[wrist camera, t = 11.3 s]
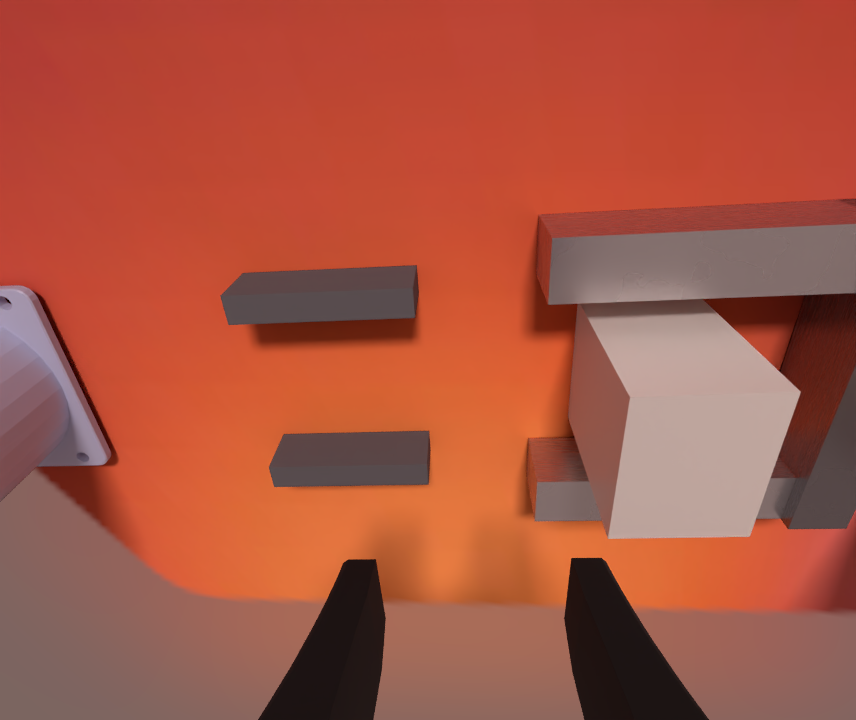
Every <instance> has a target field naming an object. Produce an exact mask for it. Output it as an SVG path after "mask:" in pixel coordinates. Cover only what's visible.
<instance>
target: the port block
mask: <svg viewBox="0 0 856 720" xmlns="http://www.w3.org/2000/svg"><path fill="white" fill-rule="evenodd" d="M536 275H537V278H538V281H539V283H540V286H541V288H542V291H543V293H544V296H545V298H546V301H547V303H548V305H556V304H582V303H608V302H634V301H660V300H686V299H712V298H738V297H764V296H790V295H805V298H804V301H803V304H802V307H801V310H800V313H799V316H798V319H797V322H796V325H795V328H794V331H793V334H792V337H791V340H790V343H789V346H788V349H787V352H786V355H785V358H784V361H783V364H782V367H781V371H780V373H781V374H782V375H784V376H785V377H786V378H787V379H788V380H789V381H790V382H791V383H792V384H793V385H794V386H795V387H796V388H797V389H798V390H799V391H800V392H801V393H800V396H799V399H798V402H797V404H796V407H795V410H794V413H793V416H792V419H791V421H790V424H789V427H788V430H787V433H786V436H785V438H784V441H783V444H782V447H781V450H780V452H779V455H778V458H777V461H776V464H775V467H774V469H773V472H772V475H771V478H770V481H769V484H768V486H767V489H766V492H765V495H764V498H763V501H762V503H761V506H760V509H759V512H758V515H757V517H756V519H779V518H781V520H782V521H783V523H784V524H785V525H786V527H787V528H788V529H846V528H847V526H848V524H849V522H850V520H851V518H852V516H853V514H854V512H855V510H856V199H843V200H823V201H803V202H783V203H763V204H743V205H723V206H703V207H682V208H662V209H642V210H622V211H602V212H582V213H562V214H542V215H539V223H538V245H537V266H536ZM527 481H528V486H529V492H530V497H531V503H532V508H533V514H534V519H535V521H602V519H601V516H600V513H599V510H598V507H597V504H596V501H595V498H594V495H593V492H592V489H591V486H590V483H589V480H588V476H587V473H586V470H585V467H584V464H583V461H582V458H581V455H580V452H579V449H578V446H577V443H576V440H575V437H573V438H528V457H527Z"/></svg>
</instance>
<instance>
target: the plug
mask: <svg viewBox="0 0 856 720" xmlns="http://www.w3.org/2000/svg"><path fill="white" fill-rule="evenodd" d="M800 393H801V392H800V391H799V390H798V389H797V388H796V387H795V386H794V385H793V384H792V383H791V382H790V381H789V380H788V379H787V378H786V377H785V376H784V375H782V374H781V373H780V372H779V371H778V370H777V369H776V368H775V367H774V366H773V365H772V364H771V363H770V362H769V361H768V360H767V359H765V358H764V357H763V356H762V355H761V354H760V353H759V352H758V351H757V350H756V349H755V348H754V347H753V346H752V345H751V344H750V343H748V342H747V341H746V340H745V339H744V338H743V337H742V336H741V335H740V334H739V333H738V332H737V331H736V330H735V329H734V328H733V327H732V326H730V325H729V324H728V323H727V322H726V321H725V320H724V319H723V318H722V317H721V316H720V315H719V314H718V313H717V312H716V311H715V310H713V309H712V308H711V307H710V306H709V305H708V304H707V303H706V302H705V301H704V300H703V299H686V300H660V301H634V302H608V303H582V304H578V306H577V317H576V329H575V340H574V352H573V364H572V375H571V387H570V399H569V410H568V419H569V422H570V425H571V428H572V431H573V434H574V437H575V440H576V443H577V446H578V449H579V452H580V455H581V458H582V461H583V464H584V467H585V470H586V473H587V476H588V480H589V483H590V486H591V489H592V492H593V495H594V498H595V501H596V504H597V507H598V510H599V513H600V516H601V519H602V522H603V525H604V528H605V531H606V534H607V537H608V539H623V538H692V537H750V534H751V532H752V529H753V526H754V523H755V520H756V517H757V515H758V512H759V509H760V506H761V503H762V501H763V498H764V495H765V492H766V489H767V486H768V484H769V481H770V478H771V475H772V472H773V469H774V467H775V464H776V461H777V458H778V455H779V452H780V450H781V447H782V444H783V441H784V438H785V436H786V433H787V430H788V427H789V424H790V421H791V419H792V416H793V413H794V410H795V407H796V404H797V402H798V399H799V396H800Z"/></svg>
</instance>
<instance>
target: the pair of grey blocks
mask: <svg viewBox="0 0 856 720" xmlns="http://www.w3.org/2000/svg"><path fill="white" fill-rule="evenodd" d="M418 294H419V291H418V277H417V265H415V266H392V267H370V268H347V269H324V270H302V271H279V272H256V273H243V274H242V275H241V276H240V277H239V278H238V279H237V280H236V281H235V282H234V283H233V284H232V285H231V286H230V287H229V288H228V289H227V290H226V291H225V292H224V293H223V294H222V295H221V300H222V303H223V307H224V310H225V314H226V317H227V321H228V325H239V324H266V323H293V322H319V321H346V320H373V319H400V318H415V315H416V308H417V301H418ZM429 466H430V438H429V431H403V432H359V433H316V434H284V435H283V437H282V439H281V441H280V444H279V446H278V448H277V450H276V453H275V455H274V457H273V459H272V461H271V464H270V466H269V470H270V473H271V477H272V480H273V484H274V487H299V486H361V485H423V484H429Z"/></svg>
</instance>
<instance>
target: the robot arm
mask: <svg viewBox="0 0 856 720" xmlns="http://www.w3.org/2000/svg"><path fill="white" fill-rule="evenodd" d="M5 298H7V299H8V300H9V301H10V302H11V304H10V303H8V302H7V301H6V299H5ZM86 454H87V455H86ZM110 457H111V451H110V449H109V447H108V445H107V443H106V441H105V438H104V436H103V434H102V432H101V430H100V428H99V426H98V424H97V422H96V419H95V417H94V415H93V413H92V411H91V409H90V407H89V405H88V403H87V400H86V398H85V396H84V394H83V392H82V390H81V388H80V386H79V384H78V382H77V379H76V377H75V375H74V373H73V371H72V369H71V367H70V365H69V363H68V360H67V358H66V356H65V354H64V352H63V350H62V348H61V346H60V344H59V341H58V339H57V337H56V335H55V333H54V331H53V329H52V327H51V325H50V323H49V320H48V318H47V316H46V314H45V312H44V310H43V308H42V306H41V304H40V301H39V299H38V297H37V296H36V295H35V293H34V292H33V291H31V290H30V289H29V288H26V287H24V286H19V285H17V286H0V502H1V501H2V500H3V499H4V498H5V497H6V496H7V495H8V494H9V493H10V492H11V491H12V490H13V489H14V488H15V487H16V486H17V485H18V484H19V483H20V482H21V481H22V480H23V479H24V478H25V477H26V476H27V475H28V474H29V473H30V472H31V471H32V470H33V469H34V468H35V467H42V466H93V465H104V464H105V463H106V462H107V461H108V460H109V459H110ZM385 619H386V618H385V612H384V607H383V600H382V594H381V588H380V582H379V576H378V570H377V564H376V559H371V560H347V561H346V562H344V563H343V565H342V568H341V570H340V573H339V575H338V577H337V579H336V582H335V584H334V586H333V588H332V590H331V592H330V594H329V597H328V599H327V601H326V603H325V605H324V607H323V609H322V611H321V613H320V614H319V617H318V619H317V620H316V622H315V624H314V626H313V628H312V630H311V632H310V633H309V635H308V637H307V639H306V641H305V642H304V644H303V646H302V648H301V650H300V651H299V653H298V655H297V657H296V659H295V660H294V662H293V664H292V666H291V667H290V669H289V671H288V673H287V674H286V676H285V677H284V679H283V680H282V682H281V684H280V685H279V687H278V689H277V690H276V692H275V694H274V695H273V697H272V699H271V700H270V702H269V703H268V705H267V707H266V708H265V710H264V711H263V713H262V715H261V716H260V718H259V719H258V720H373V718H374V712H375V706H376V701H377V695H378V688H379V683H380V676H381V671H382V659H383V646H384V633H385ZM564 619H565V626H566V633H567V640H568V646H569V653H570V659H571V665H572V672H573V676H574V680H575V684H576V688H577V692H578V696H579V700H580V703H581V708H582V712H583V716H584V720H709V719H708V718H707V716H706V715H705V714H704V712H703V711H702V710H701V708H700V707H699V706H698V705H697V703H696V702H695V701H694V699H693V698H692V696H691V695H690V694H689V692H688V691H687V689H686V688H685V687H684V685H683V684H682V682H681V681H680V680H679V678H678V677H677V675H676V674H675V672H674V671H673V670H672V668H671V667H670V665H669V664H668V662H667V661H666V659H665V658H664V656H663V655H662V653H661V652H660V650H659V649H658V647H657V646H656V644H655V643H654V642H653V640H652V638H651V637H650V635H649V634H648V632H647V631H646V629H645V628H644V626H643V625H642V623H641V621H640V620H639V618H638V616H637V615H636V613H635V612H634V610H633V608H632V607H631V605H630V604H629V602H628V600H627V598H626V597H625V595H624V593H623V592H622V590H621V588H620V587H619V585H618V583H617V581H616V579H615V578H614V576H613V574H612V572H611V570H610V569H609V567H608V565H607V563H606V561H604V560H603V559H602V558H571V566H570V575H569V584H568V592H567V601H566V609H565V618H564Z"/></svg>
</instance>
